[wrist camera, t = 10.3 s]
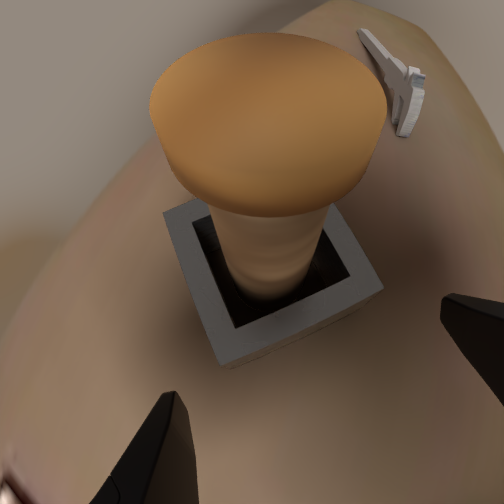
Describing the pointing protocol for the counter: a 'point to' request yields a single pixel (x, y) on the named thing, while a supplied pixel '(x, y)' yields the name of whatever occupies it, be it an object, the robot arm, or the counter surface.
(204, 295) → the socket block
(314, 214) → the pin
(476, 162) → the counter surface
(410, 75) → the caliper
